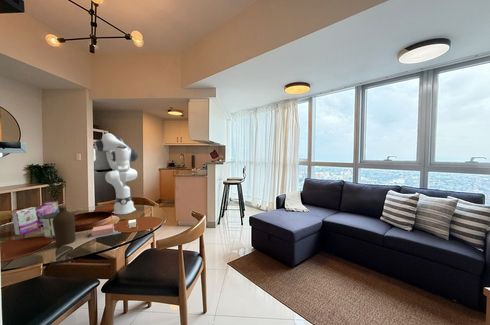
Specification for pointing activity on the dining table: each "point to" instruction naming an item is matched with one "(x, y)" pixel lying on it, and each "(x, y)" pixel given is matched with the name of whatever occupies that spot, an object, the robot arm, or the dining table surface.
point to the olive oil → (64, 227)
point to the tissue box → (49, 224)
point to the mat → (104, 235)
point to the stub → (132, 223)
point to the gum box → (46, 210)
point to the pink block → (103, 230)
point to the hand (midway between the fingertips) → (124, 185)
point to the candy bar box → (25, 220)
